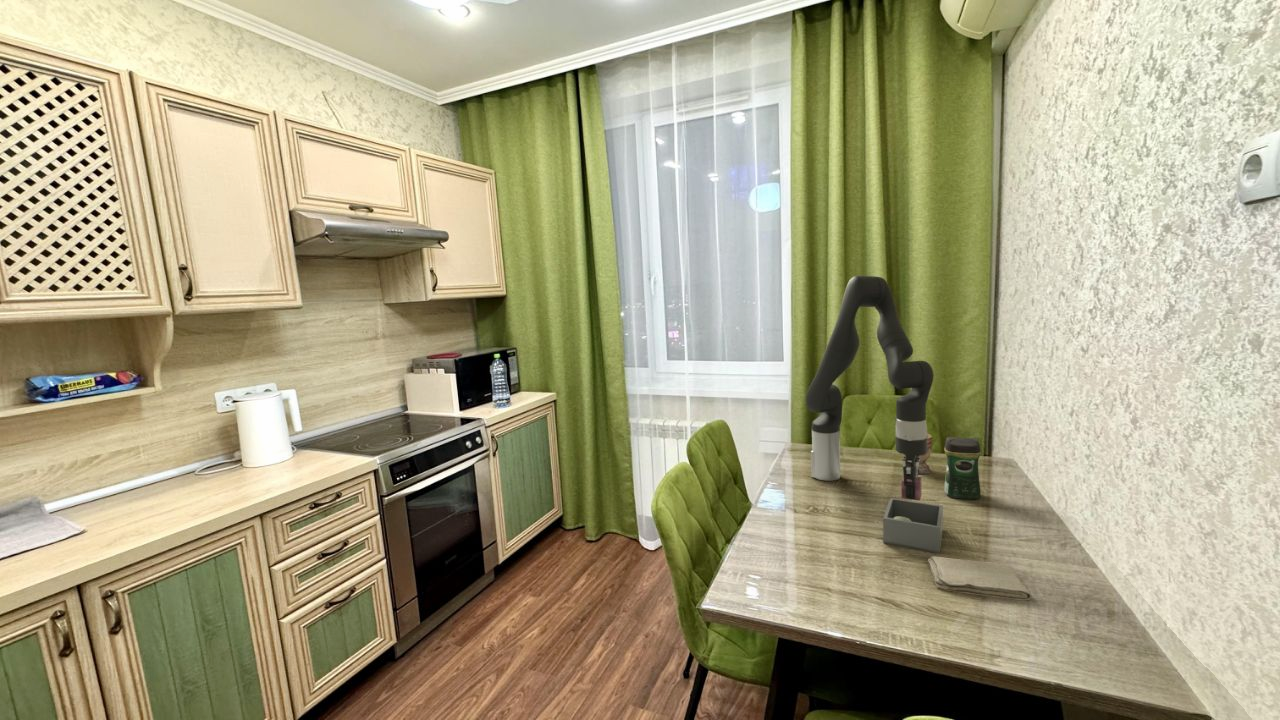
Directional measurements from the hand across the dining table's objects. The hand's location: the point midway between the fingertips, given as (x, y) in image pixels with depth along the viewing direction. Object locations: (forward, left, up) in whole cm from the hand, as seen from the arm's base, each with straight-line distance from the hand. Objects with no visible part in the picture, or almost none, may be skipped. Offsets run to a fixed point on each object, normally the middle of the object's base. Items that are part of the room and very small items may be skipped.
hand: (911, 495), depth 139 cm
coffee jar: (+11, +31, -11) cm, 35 cm away
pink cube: (0, 0, 0) cm, 0 cm away
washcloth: (+15, -19, -11) cm, 27 cm away
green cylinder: (-2, -6, -10) cm, 12 cm away
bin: (+1, -3, -10) cm, 11 cm away
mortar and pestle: (-4, +48, -11) cm, 49 cm away
